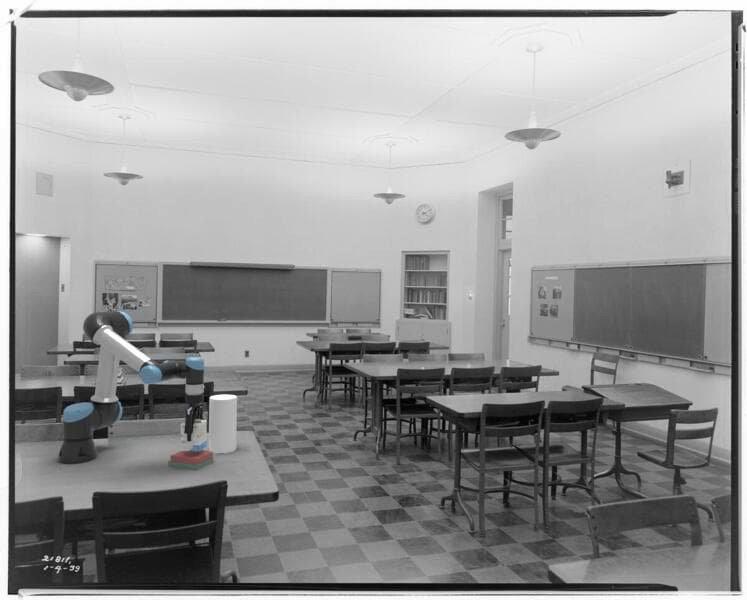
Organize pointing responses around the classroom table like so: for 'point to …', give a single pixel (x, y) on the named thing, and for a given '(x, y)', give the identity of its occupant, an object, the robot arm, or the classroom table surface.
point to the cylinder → (222, 423)
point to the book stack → (191, 459)
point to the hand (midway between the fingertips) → (193, 445)
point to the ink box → (195, 435)
